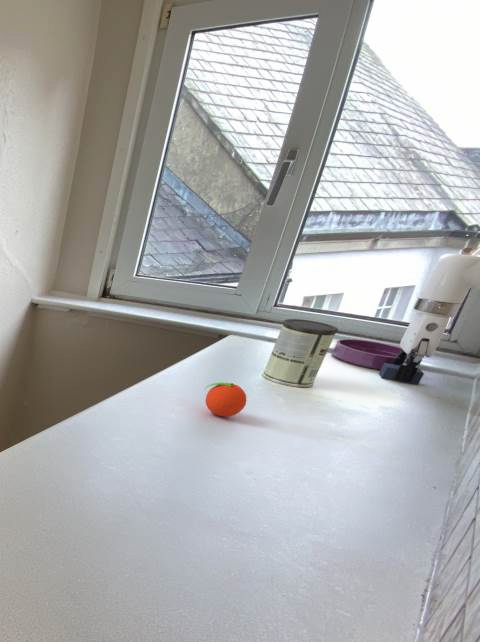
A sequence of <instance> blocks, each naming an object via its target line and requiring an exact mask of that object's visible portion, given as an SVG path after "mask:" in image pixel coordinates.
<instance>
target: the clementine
mask: <svg viewBox="0 0 480 642" xmlns="http://www.w3.org/2000/svg"><path fill="white" fill-rule="evenodd" d="M211 386H213V387H211ZM209 387H211V388H210V390H208V392H207V393H206V395H205V406H206V408H207V410H209V411H210V412H211V413H212V414H213V415H215V416H219V417H225V418H228V417H232V416H235V415H237V414H239V413H240V412H241V411H243V410H244V408H245V407H246V405H247V400H248V399H247V394H246V392H245V391H244V390H243V388H241V387H240V386H239V385H238V384H235V383H231V382H215V383H211V384H208V385H207V386H205V389H207V388H209Z"/></svg>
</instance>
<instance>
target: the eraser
mask: <svg viewBox="0 0 480 642" xmlns="http://www.w3.org/2000/svg"><path fill="white" fill-rule="evenodd" d="M399 367H400V365H394V364H388V363H384V364H383V366H382V368H381V370H379V372H378V374H379V375H378V376H380V378H381V379H384V380H390V381H396V382H401V383H404V382H403V381H398V380H394V376H395V374H396V372H397V370H398V369H399ZM424 375H425V373H424V372H423V371H422V369H421V368H418V369H417V371H416V373H415V375H414V377H413V378H412V380H411V382H405V383H407V384H413V385H417V386H418V385H419V384H420V382H421V380H422V378H423V377H424Z"/></svg>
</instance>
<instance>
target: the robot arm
mask: <svg viewBox="0 0 480 642" xmlns="http://www.w3.org/2000/svg"><path fill="white" fill-rule="evenodd" d="M471 289H477V290H480V247H479V248H478V249H477V250H475V251H474V252H473V253H471V254H466V253H453V252H452V253H445V254H442V255H441V256H440V257H439V258H438V259H437V261H436V263H435V265H434V267H433V269H432V271H431V272H430V274H429V277H428V278H427V280H426V282H425V284H424V286H423V288H422V290H421V292H420V294H419V296H418V297H417V300H416V302H415V304H414V305H413V308H412V309H411V311H412V312H414V313H415V314H414V315H413V317H412V319H411V321H410V323H409V324H408V326H407V328H406V330H405V331H404V334H403V335H402V337H401V340H400V342H399V347H400V348H401V350H400V351H399V352H398V354H397V356H396V357H395V359H394V361H393V363H392V364H394V365H400V367H399V369H398V370H397V372H396V374H395V376H394V380H393V381H395V380H398V381H397V382H400V381H403V382H402V383H406V382H411V380H412V378H413V377H414V375H415V373H416V371H417V369H419V368H420V366H421V363H422V361H423V359H424V358H425V357H426V358H431V357H433V355H434V354H435V352H436V350H437V348H438V346H439V344H440V342H441V340H442V337H443V336H444V334H445V332H446V329H447V327H448V325H449V322H450V319H451V318H455V317H456V315H457V313H458V311H459V309H460V308H461V306H462V305H463V302H464V301H465V299H466V297H467V295H468V293H469V292H470V290H471ZM415 353H416V354H415ZM397 357H398V358H397ZM409 359H410V360H409Z"/></svg>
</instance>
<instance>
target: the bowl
mask: <svg viewBox="0 0 480 642" xmlns="http://www.w3.org/2000/svg"><path fill="white" fill-rule="evenodd" d="M400 350H401V347H400V346H396V345H392V344H387V343H384V342H377V341H371V340H365V339H355V338H342V339H341V338H340V339H337V340H336V341H335V343H334V345H333V347H332V350H331V351H330V352H331V355H333V356H334V357H336V358H337V359H339V360H340V361H342V362H345V363H349V364H351V365H355V366H358V367H362V368H363V367H364V368H369V369H372V370H377V371H378V370H379V371H380V370H381V368H382V366H383V364H384V363H388V364H392V363H393V361H394V359H395V357H396V356H397V354H398V352H399V351H400ZM416 353H417V352H416ZM416 353H415V354H416ZM397 358H398V357H397ZM409 360H410V359H409Z"/></svg>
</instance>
